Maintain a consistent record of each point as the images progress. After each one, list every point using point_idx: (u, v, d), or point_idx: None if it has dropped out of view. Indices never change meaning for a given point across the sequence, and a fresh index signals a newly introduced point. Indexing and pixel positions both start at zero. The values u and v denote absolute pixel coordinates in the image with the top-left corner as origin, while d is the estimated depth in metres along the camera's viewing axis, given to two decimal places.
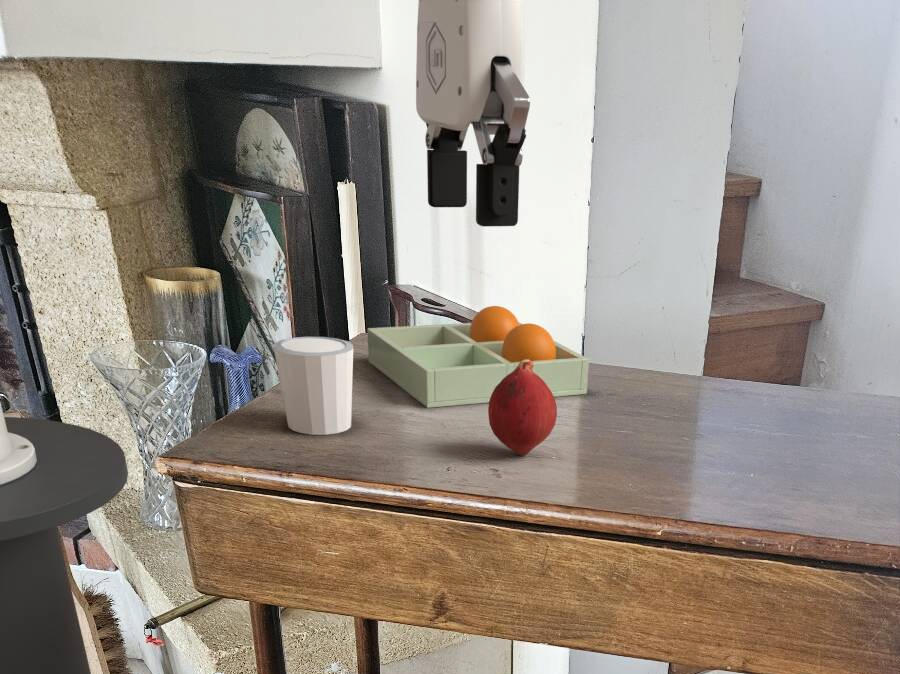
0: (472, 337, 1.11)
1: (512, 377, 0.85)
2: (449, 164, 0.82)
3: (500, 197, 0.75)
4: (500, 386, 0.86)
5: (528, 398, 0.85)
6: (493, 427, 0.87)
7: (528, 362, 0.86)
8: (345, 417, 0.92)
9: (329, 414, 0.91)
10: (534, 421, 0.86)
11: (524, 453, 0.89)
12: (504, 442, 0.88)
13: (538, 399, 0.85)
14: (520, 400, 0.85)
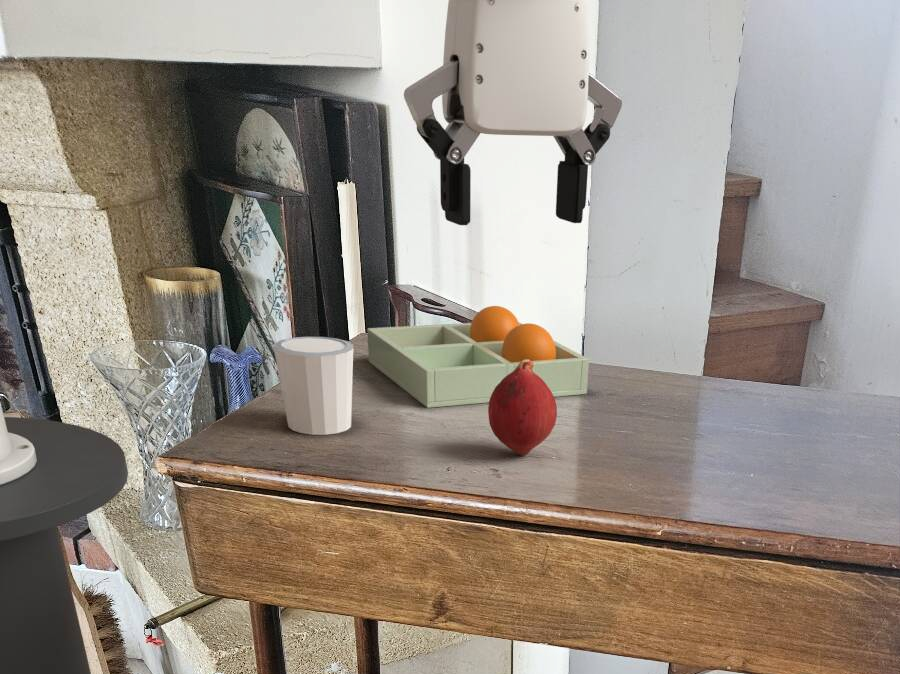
0: (472, 337, 1.11)
1: (512, 377, 0.85)
2: (566, 177, 0.80)
3: (444, 192, 0.76)
4: (500, 386, 0.86)
5: (528, 398, 0.85)
6: (493, 427, 0.87)
7: (528, 362, 0.86)
8: (345, 417, 0.92)
9: (329, 414, 0.91)
10: (534, 421, 0.86)
11: (524, 453, 0.89)
12: (504, 442, 0.88)
13: (538, 399, 0.85)
14: (520, 400, 0.85)
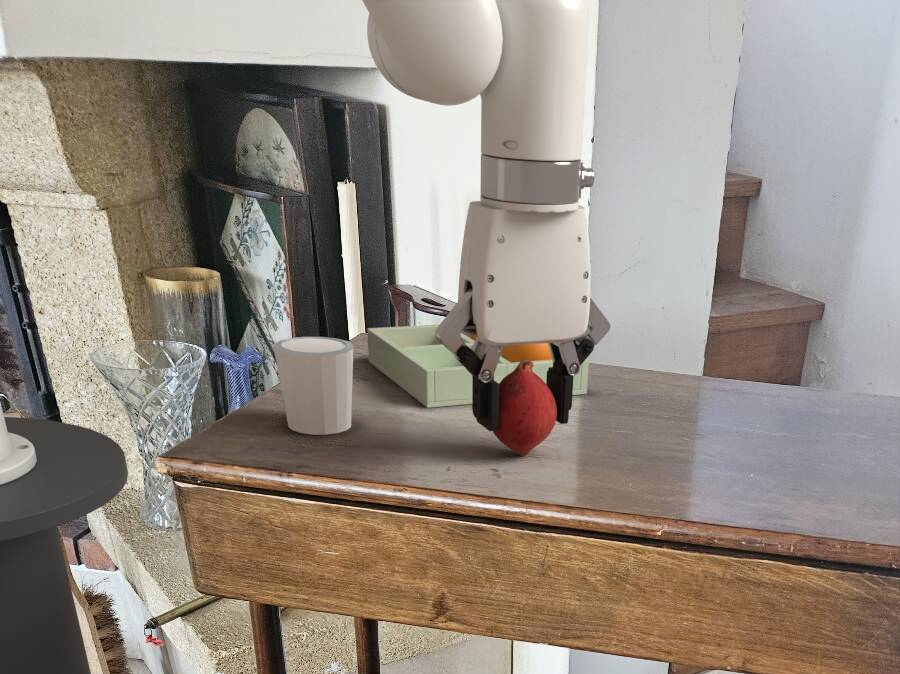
0: (472, 337, 1.11)
1: (512, 377, 0.85)
2: (554, 383, 0.88)
3: (475, 402, 0.86)
4: (500, 386, 0.86)
5: (528, 398, 0.85)
6: None
7: (528, 362, 0.85)
8: (345, 417, 0.92)
9: (329, 414, 0.91)
10: (534, 421, 0.86)
11: (524, 453, 0.89)
12: (504, 442, 0.88)
13: (538, 399, 0.85)
14: (520, 400, 0.85)
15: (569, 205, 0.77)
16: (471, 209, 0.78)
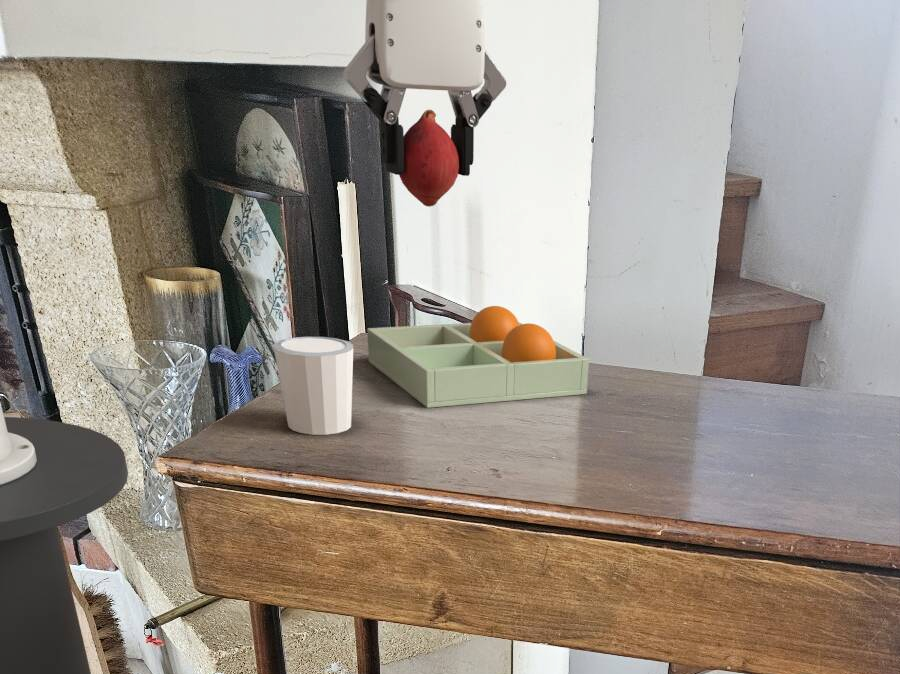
0: (472, 337, 1.11)
1: (416, 125, 0.95)
2: (456, 137, 0.98)
3: (384, 148, 0.95)
4: (406, 134, 0.96)
5: (430, 142, 0.95)
6: None
7: (430, 111, 0.95)
8: (345, 417, 0.92)
9: (329, 414, 0.91)
10: (436, 165, 0.95)
11: (431, 203, 0.99)
12: (411, 189, 0.98)
13: (440, 144, 0.95)
14: (423, 144, 0.95)
15: None
16: None
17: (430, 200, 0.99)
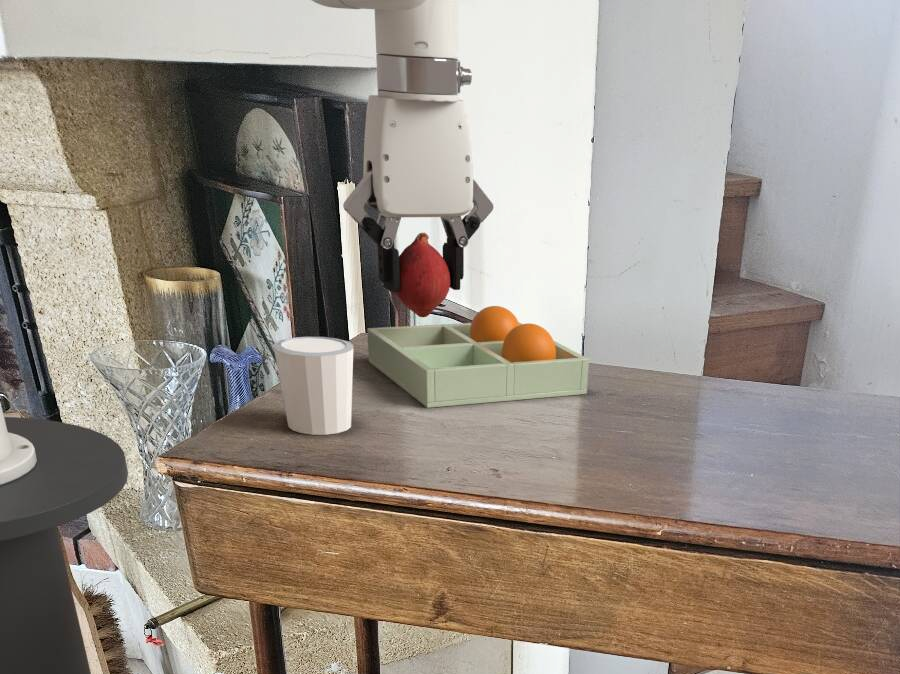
0: (472, 337, 1.11)
1: (410, 247, 1.03)
2: (448, 255, 1.06)
3: (381, 268, 1.04)
4: (401, 255, 1.04)
5: (423, 263, 1.03)
6: None
7: (423, 235, 1.03)
8: (345, 417, 0.92)
9: (329, 414, 0.91)
10: (429, 284, 1.04)
11: (424, 315, 1.07)
12: (406, 304, 1.06)
13: (432, 265, 1.03)
14: (417, 266, 1.03)
15: (448, 96, 0.95)
16: (369, 100, 0.96)
17: (424, 312, 1.07)
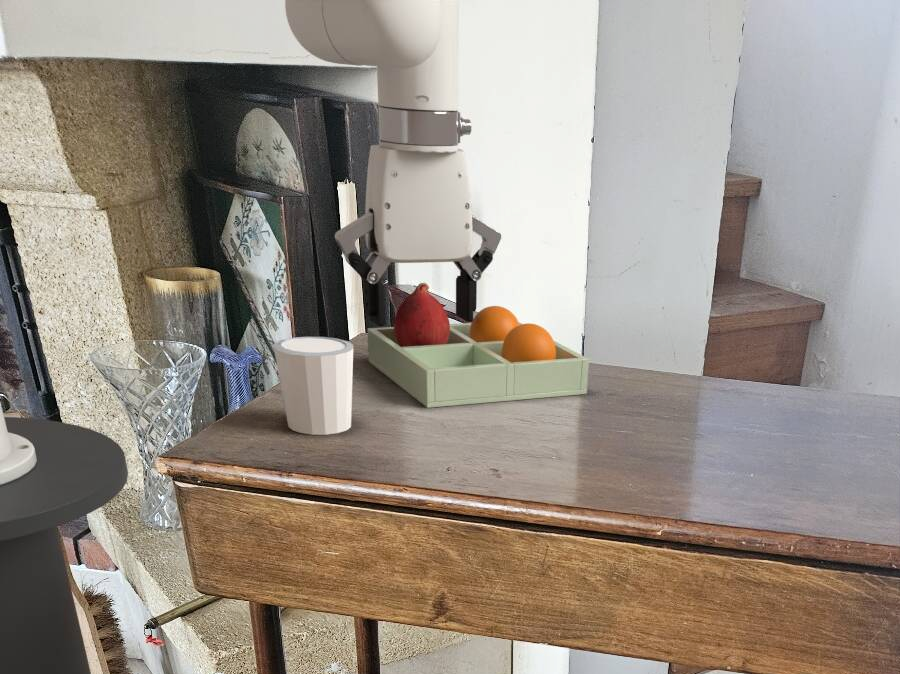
0: (472, 337, 1.11)
1: (411, 297, 1.06)
2: (461, 288, 1.08)
3: (367, 302, 1.05)
4: (402, 304, 1.06)
5: (424, 313, 1.06)
6: (397, 338, 1.08)
7: (424, 285, 1.06)
8: (345, 417, 0.92)
9: (329, 414, 0.91)
10: (429, 333, 1.06)
11: None
12: None
13: (432, 314, 1.06)
14: (417, 315, 1.06)
15: (448, 147, 0.97)
16: (371, 150, 0.98)
17: None
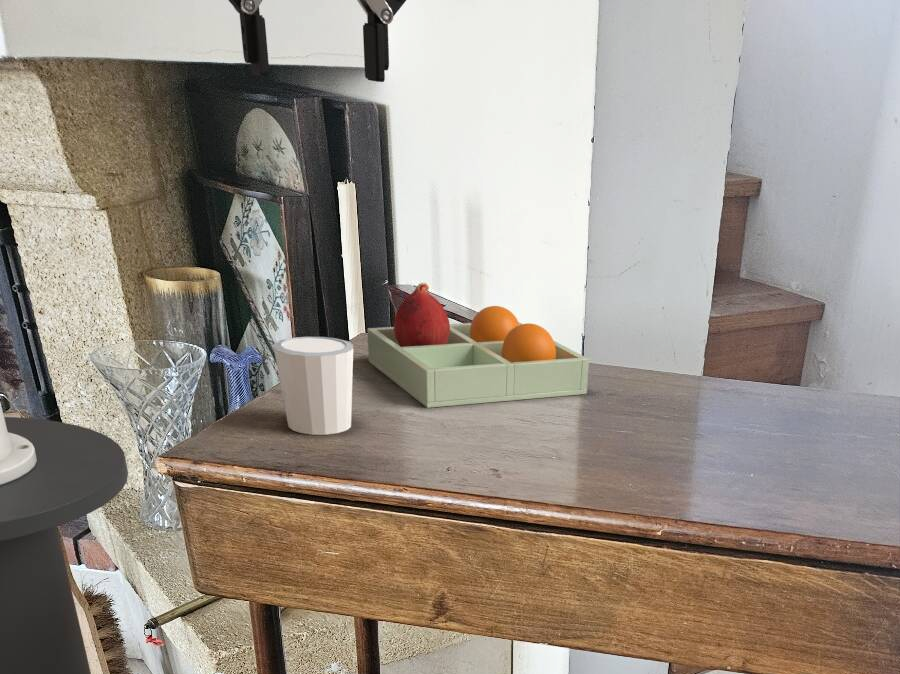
0: (472, 337, 1.11)
1: (411, 297, 1.06)
2: (368, 36, 0.86)
3: (245, 44, 0.82)
4: (402, 304, 1.06)
5: (423, 313, 1.06)
6: (397, 338, 1.08)
7: (424, 285, 1.06)
8: (345, 417, 0.92)
9: (329, 414, 0.91)
10: (429, 333, 1.06)
11: None
12: None
13: (432, 314, 1.06)
14: (417, 315, 1.06)
15: None
16: None
17: None
